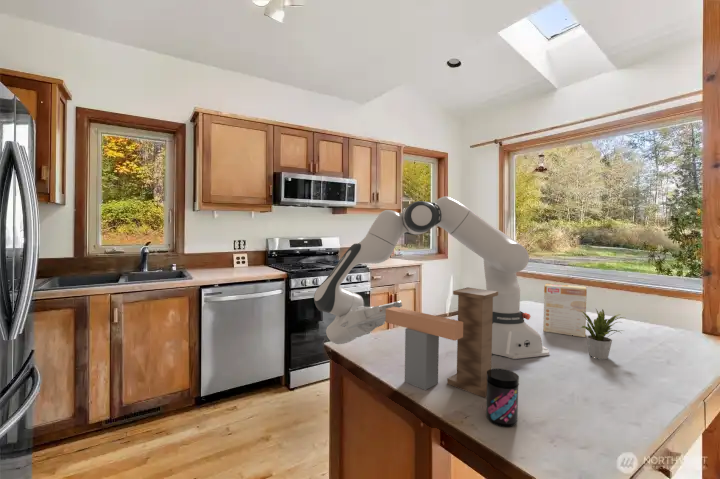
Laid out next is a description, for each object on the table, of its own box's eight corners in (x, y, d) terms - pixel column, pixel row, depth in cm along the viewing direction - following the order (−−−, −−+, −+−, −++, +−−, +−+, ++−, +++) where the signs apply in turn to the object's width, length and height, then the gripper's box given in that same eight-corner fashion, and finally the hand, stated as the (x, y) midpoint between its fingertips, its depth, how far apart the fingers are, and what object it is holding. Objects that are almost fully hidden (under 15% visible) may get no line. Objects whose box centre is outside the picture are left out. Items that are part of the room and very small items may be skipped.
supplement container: (479, 418, 80) (480, 373, 80) (494, 408, 84) (495, 366, 84) (509, 432, 75) (510, 384, 74) (523, 420, 79) (524, 375, 79)
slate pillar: (404, 381, 99) (405, 328, 98) (417, 375, 103) (418, 324, 102) (425, 390, 94) (426, 334, 93) (438, 383, 98) (438, 329, 97)
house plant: (637, 368, 110) (640, 316, 109) (588, 364, 112) (590, 313, 112) (614, 352, 124) (616, 306, 123) (571, 349, 126) (572, 303, 126)
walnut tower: (447, 383, 98) (448, 290, 97) (463, 374, 104) (465, 286, 103) (485, 397, 90) (487, 296, 89) (500, 386, 96) (502, 292, 95)
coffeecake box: (585, 333, 145) (586, 286, 144) (585, 337, 139) (587, 288, 138) (544, 327, 153) (545, 282, 153) (542, 331, 147) (544, 285, 147)
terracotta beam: (385, 322, 105) (385, 308, 104) (394, 319, 107) (394, 306, 107) (454, 340, 88) (455, 324, 88) (463, 337, 91) (463, 321, 91)
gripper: (334, 317, 108) (362, 300, 99) (378, 306, 122) (406, 291, 114) (340, 337, 106) (370, 322, 97) (385, 324, 120) (414, 310, 112)
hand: (390, 305), depth 106 cm, fingers open, 8 cm apart
